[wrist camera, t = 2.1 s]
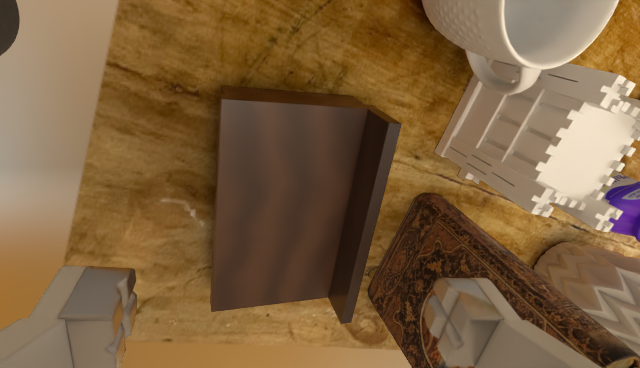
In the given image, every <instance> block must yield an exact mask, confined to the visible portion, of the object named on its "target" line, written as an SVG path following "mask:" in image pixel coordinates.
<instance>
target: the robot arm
mask: <svg viewBox="0 0 640 368" xmlns="http://www.w3.org/2000/svg"><path fill="white" fill-rule="evenodd" d="M135 282H136V275H135V270H134V269H133V268H116V267H96V266H88V267H87V266H69V265H65V266H63V267H62V268H61V269H59V271H58V273H57V274H56V275H55V277H54V279H53V280H52V282H51V283H50V285H49V287H48V288H47V289H46V291H45V292H44V294H43V296H42V297H41V299H40V300H39V302H38V304H37V305H36V306H35V308H34V310H33V311H32V313H31V314H30V316H29V318H28V319H19V320H17V321H15V322H14V323H12V324H10V325H9V326H7V327H5V328H4V329H2V330H0V368H120V366H121V363H122V359H123V356H124V354H125V351H126V347H125V339H126V338H127V337H128V336H129V335H130V334H131V332H132V329H133V326H134V322H135V316H136V310H137V295H136V294H135V293H134V292H133V288H134V285H135ZM433 290H434V293H435V294H434V295H433V296H431V297H430V298H429V299H428V300H427V303H426V306H425V322H426V325H427V327H428V330H429V332H430V333H431V334H432V335H434V336H435V337H436V338H437V339H438V342H437V348H438V350H439V352H440V354H441V356H442V358H443V360H444V362H445V363H446V365H447V366H475V368H601V367H600V366H598V365H597V364H595V363H593V362H592V361H590V360H589V359H587V358H586V357H584V356H582V355H581V354H579V353H578V352H576V351H574V350H573V349H571V348H570V347H568V346H567V345H565V344H563V343H562V342H560V341H559V340H557V339H555V338H554V337H552V336H551V335H549V334H548V333H546V332H544V331H543V330H541V329H540V328H538V327H536V326H535V325H533V324H532V323H530V322H529V321H527V320H521V319H520V317H519V316H518V315H517V313H516V312H515V311H514V310H513V308H512V307H511V306H510V305H509V303H508V302H507V301H506V299H505V298H504V297H503V296H502V294H501V293H500V292H499V291H498V289H497V288H496V287H495V285H494V284H493V283H492V282H491V281H490V280H488V279H487V278H438V279H437V280H436V281H435V283H434V286H433Z"/></svg>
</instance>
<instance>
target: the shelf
mask: <svg viewBox="0 0 640 368" xmlns="http://www.w3.org/2000/svg"><path fill="white" fill-rule="evenodd" d="M400 128H401V123H399V122H398V121H396V120H395V119H393V118H392V117H390V116H388V115H387V114H385V113H384V112H382V111H381V110H379V109H377V108H376V107H374V106H373V105H365V104H363V103H362V102H360V101H359V100H357V99H356V98H354V97H353V96H343V95H331V94H318V93H306V92H294V91H282V90H269V89H257V88H245V87H232V86H221V93H220V94H219V112H218V135H217V158H216V181H215V204H214V227H213V250H212V273H211V296H210V304H211V311H212V312H215V311H223V310H231V309H239V308H247V307H255V306H263V305H271V304H279V303H287V302H295V301H303V300H311V299H319V298H327V297H328V298H329V300H330V302H331V304H332V306H333V308H334V310H335V313H336V315H337V317H338V319H339V321H340V323H341V324H343V323H350V322H351V321H352V317H353V313H354V309H355V305H356V301H357V297H358V293H359V289H360V285H361V281H362V277H363V274H364V270H365V266H366V262H367V258H368V254H369V250H370V246H371V242H372V238H373V234H374V230H375V226H376V222H377V219H378V215H379V211H380V207H381V203H382V199H383V195H384V191H385V187H386V183H387V179H388V175H389V171H390V167H391V164H392V160H393V156H394V152H395V148H396V144H397V140H398V136H399V132H400Z"/></svg>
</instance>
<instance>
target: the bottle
mask: <svg viewBox="0 0 640 368" xmlns="http://www.w3.org/2000/svg"><path fill="white" fill-rule="evenodd" d="M609 177H611V178H614V179H615V180H614V181H613V183H612V184H611V186H608V185H605V184H603V186H602V187H601V188H600V190H599V191H601V192H603V193H605V194H604V196H603V197H602V198H601V200H602V201H604V202H606V203H608V204H610V205H612V206H614V207H616V208H618V209H619V210H621V211H623V213H622V214H621V216H620V217H619V218H618V220H615V219H613V218H610V219H609V220H608V221H609V222H611V223H613V224H614V225H613V227H612V228H611V229H610V231H612V232H615V233H619V234H624V235H630V236H635V237H636V239H637V240H638V241H639V242H640V182H639V181H637V180H634V179H632V178H630V177H627V176H625V175H623V174H621V173H618V172H616V171H612V173H611V174H610V175H609Z"/></svg>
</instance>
